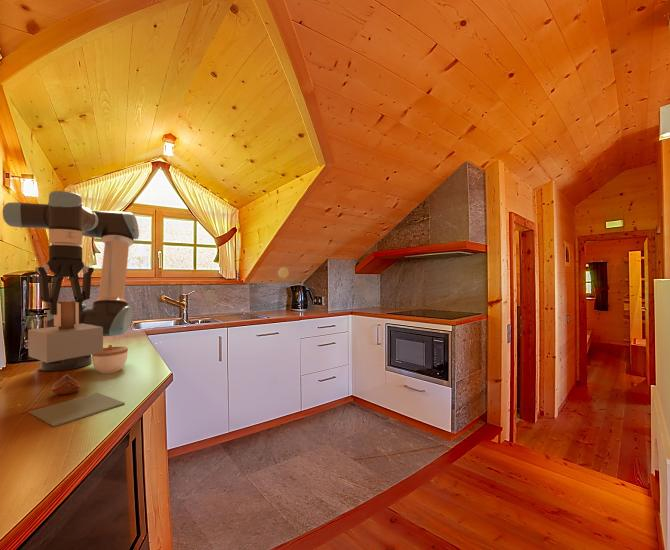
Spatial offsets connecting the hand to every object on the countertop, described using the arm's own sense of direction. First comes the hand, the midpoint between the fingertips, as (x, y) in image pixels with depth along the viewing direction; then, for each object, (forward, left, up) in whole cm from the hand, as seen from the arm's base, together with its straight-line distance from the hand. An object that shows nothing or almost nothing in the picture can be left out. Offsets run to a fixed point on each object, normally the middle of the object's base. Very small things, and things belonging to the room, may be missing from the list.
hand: (66, 324), depth 94 cm
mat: (+3, +16, -20) cm, 26 cm away
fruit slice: (0, 0, -20) cm, 20 cm away
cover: (0, 0, -9) cm, 9 cm away
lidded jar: (-18, -14, -20) cm, 30 cm away
